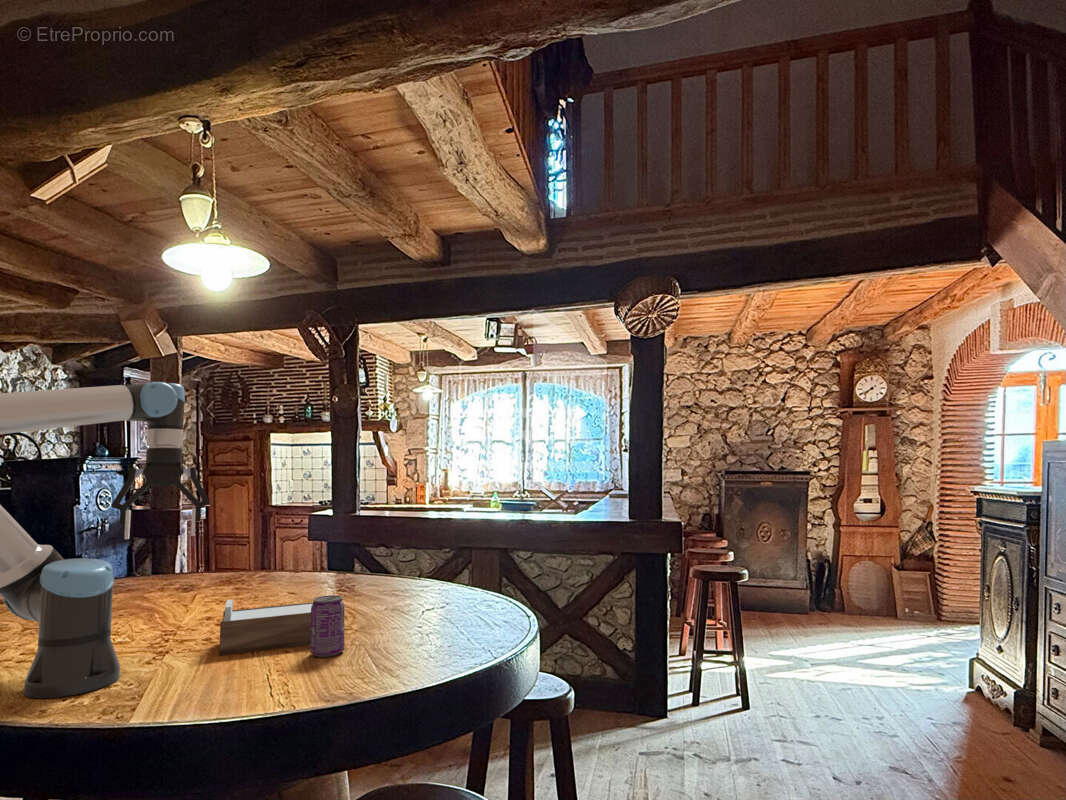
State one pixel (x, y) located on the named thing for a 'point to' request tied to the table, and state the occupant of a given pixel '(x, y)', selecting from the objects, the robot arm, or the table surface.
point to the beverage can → (327, 626)
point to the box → (265, 632)
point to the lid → (263, 611)
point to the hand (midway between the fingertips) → (160, 537)
